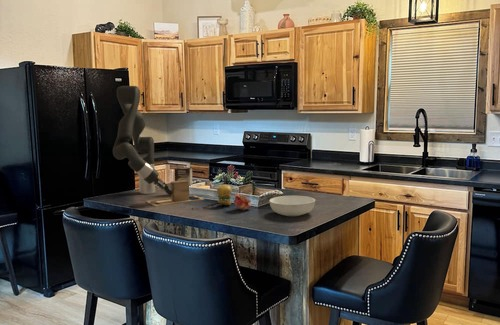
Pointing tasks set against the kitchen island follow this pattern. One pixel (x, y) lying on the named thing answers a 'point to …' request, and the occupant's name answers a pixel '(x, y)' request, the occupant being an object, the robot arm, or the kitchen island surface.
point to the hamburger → (224, 194)
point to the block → (180, 191)
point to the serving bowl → (292, 205)
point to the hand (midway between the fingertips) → (171, 193)
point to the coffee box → (183, 174)
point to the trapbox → (168, 201)
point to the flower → (241, 202)
